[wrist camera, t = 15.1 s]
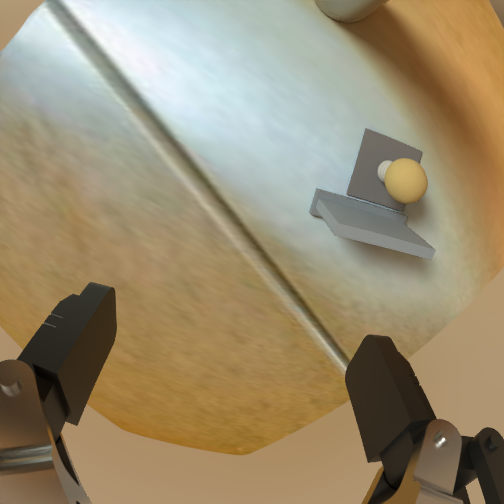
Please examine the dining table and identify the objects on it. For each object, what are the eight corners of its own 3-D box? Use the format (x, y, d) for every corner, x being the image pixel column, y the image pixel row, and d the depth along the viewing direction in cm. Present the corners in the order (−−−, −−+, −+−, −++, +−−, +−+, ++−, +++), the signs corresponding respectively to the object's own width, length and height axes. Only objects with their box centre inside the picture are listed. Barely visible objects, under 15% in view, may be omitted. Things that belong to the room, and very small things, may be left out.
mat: (365, 128, 41) (366, 128, 41) (421, 151, 42) (422, 151, 42) (346, 193, 46) (347, 194, 45) (401, 210, 47) (402, 211, 46)
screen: (316, 188, 45) (337, 212, 35) (405, 214, 47) (441, 243, 36) (309, 212, 47) (327, 243, 36) (397, 235, 49) (430, 267, 38)
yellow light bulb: (408, 177, 44) (441, 193, 35) (379, 197, 45) (407, 218, 36) (391, 144, 42) (424, 153, 33) (361, 165, 43) (388, 178, 34)
